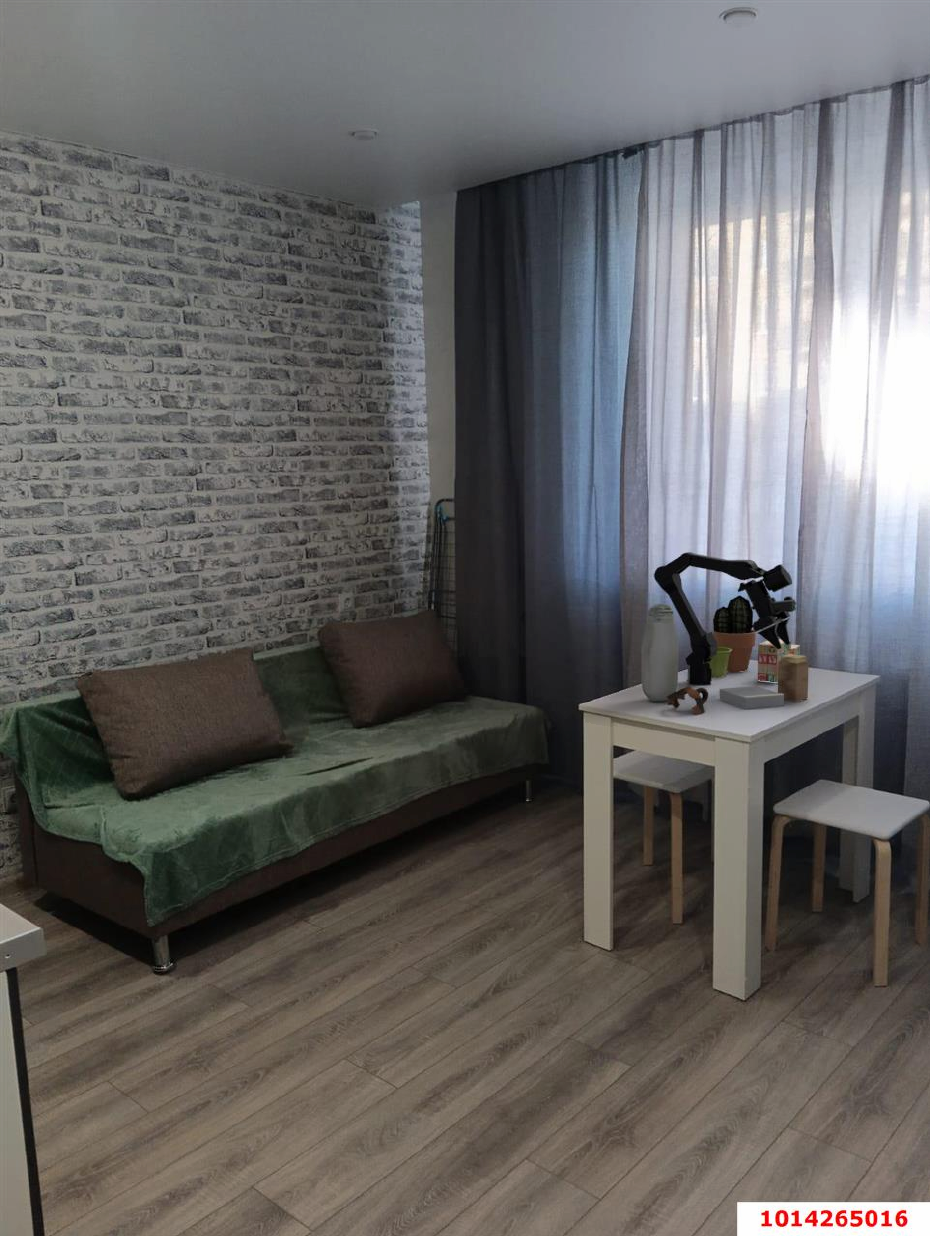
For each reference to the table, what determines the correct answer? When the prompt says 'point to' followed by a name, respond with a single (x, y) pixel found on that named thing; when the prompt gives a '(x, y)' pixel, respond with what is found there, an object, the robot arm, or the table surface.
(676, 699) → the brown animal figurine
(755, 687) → the dock
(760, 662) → the stack of blocks
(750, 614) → the potted plant
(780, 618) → the robot arm
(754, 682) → the table surface
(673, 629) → the glass bottle
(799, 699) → the brown rectangular block
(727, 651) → the plant pot
